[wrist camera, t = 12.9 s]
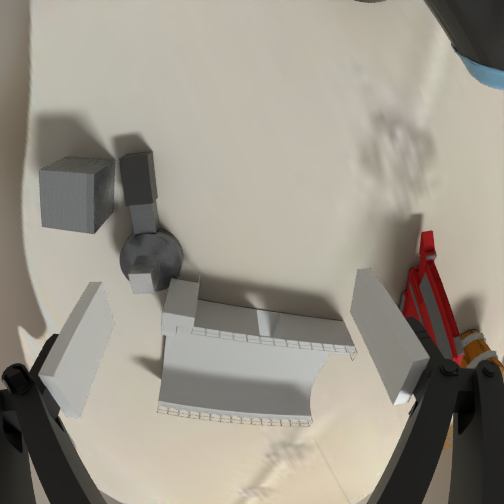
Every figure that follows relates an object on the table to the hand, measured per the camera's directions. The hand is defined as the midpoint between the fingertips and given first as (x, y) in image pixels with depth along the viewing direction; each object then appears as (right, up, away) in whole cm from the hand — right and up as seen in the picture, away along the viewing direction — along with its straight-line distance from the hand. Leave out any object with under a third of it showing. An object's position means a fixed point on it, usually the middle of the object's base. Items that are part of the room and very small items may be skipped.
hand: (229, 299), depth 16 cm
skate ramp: (+1, -14, +40) cm, 43 cm away
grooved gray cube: (-26, +11, +21) cm, 35 cm away
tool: (+29, -1, +39) cm, 49 cm away
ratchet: (-14, +7, +28) cm, 32 cm away
